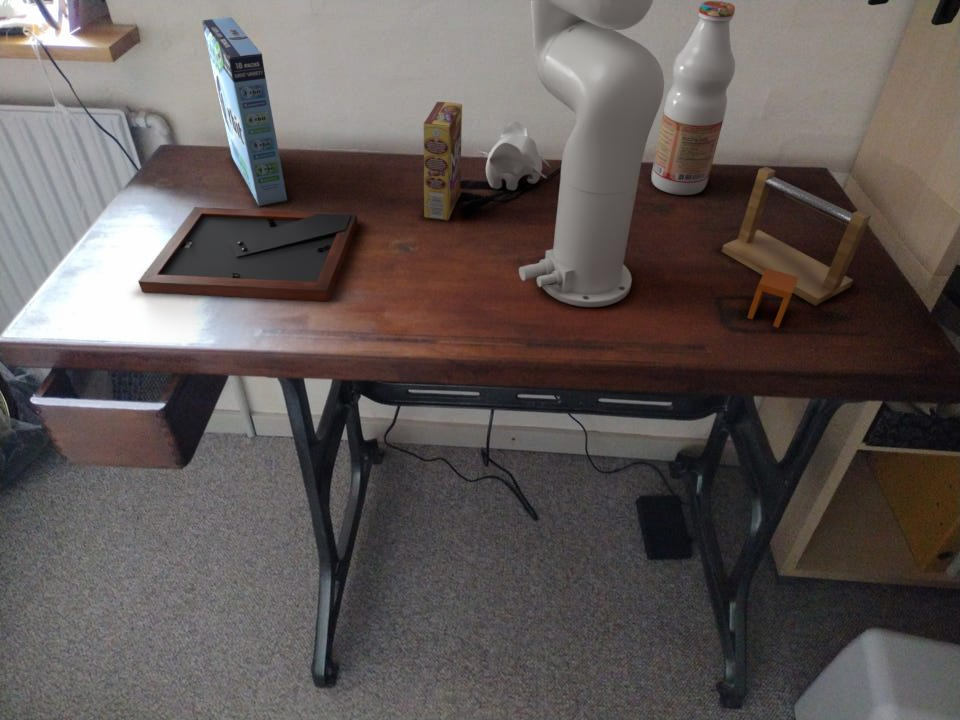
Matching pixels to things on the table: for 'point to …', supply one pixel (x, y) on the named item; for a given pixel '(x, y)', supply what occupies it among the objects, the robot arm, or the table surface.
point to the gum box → (246, 108)
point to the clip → (774, 291)
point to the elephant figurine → (513, 158)
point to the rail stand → (778, 256)
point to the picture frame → (253, 254)
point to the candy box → (442, 160)
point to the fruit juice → (695, 104)
